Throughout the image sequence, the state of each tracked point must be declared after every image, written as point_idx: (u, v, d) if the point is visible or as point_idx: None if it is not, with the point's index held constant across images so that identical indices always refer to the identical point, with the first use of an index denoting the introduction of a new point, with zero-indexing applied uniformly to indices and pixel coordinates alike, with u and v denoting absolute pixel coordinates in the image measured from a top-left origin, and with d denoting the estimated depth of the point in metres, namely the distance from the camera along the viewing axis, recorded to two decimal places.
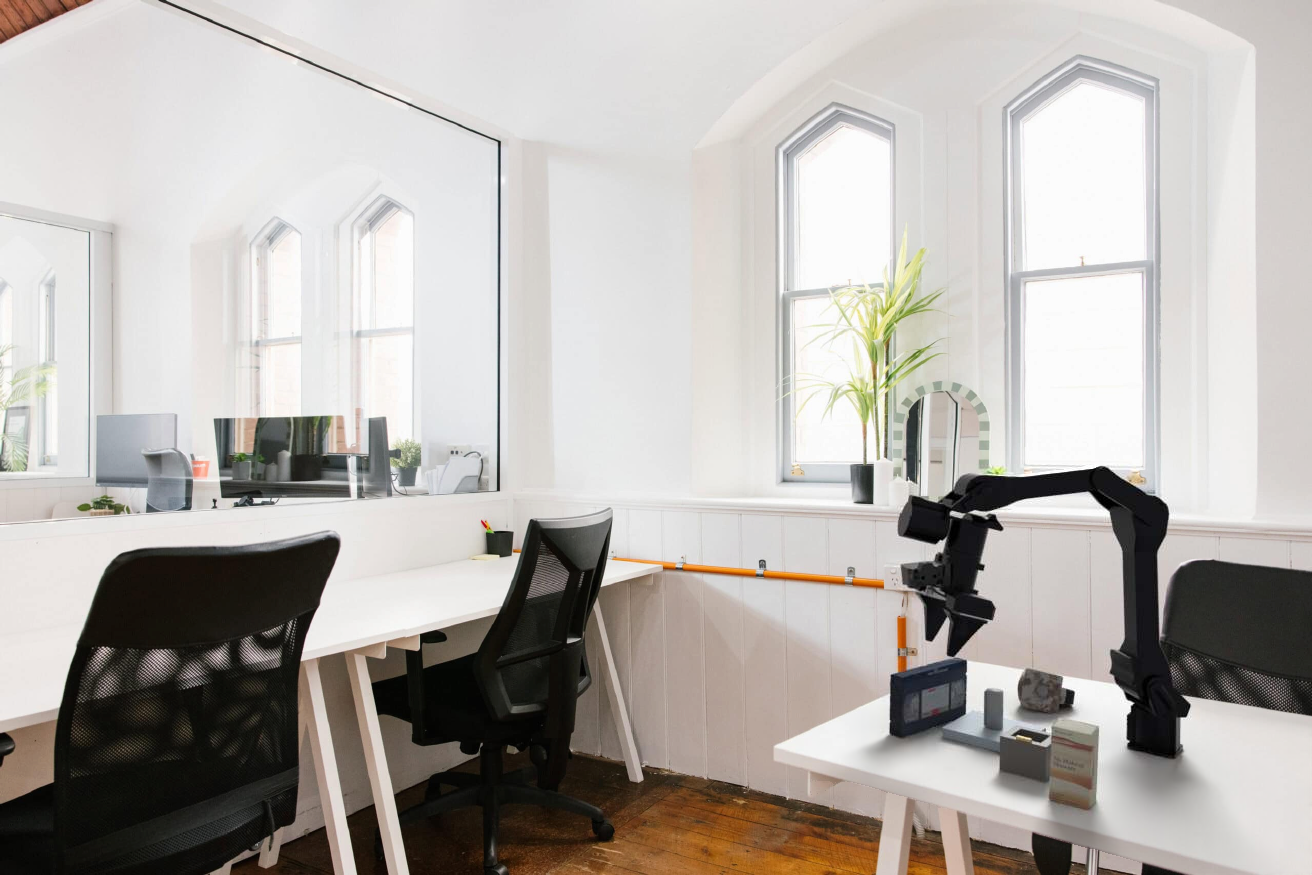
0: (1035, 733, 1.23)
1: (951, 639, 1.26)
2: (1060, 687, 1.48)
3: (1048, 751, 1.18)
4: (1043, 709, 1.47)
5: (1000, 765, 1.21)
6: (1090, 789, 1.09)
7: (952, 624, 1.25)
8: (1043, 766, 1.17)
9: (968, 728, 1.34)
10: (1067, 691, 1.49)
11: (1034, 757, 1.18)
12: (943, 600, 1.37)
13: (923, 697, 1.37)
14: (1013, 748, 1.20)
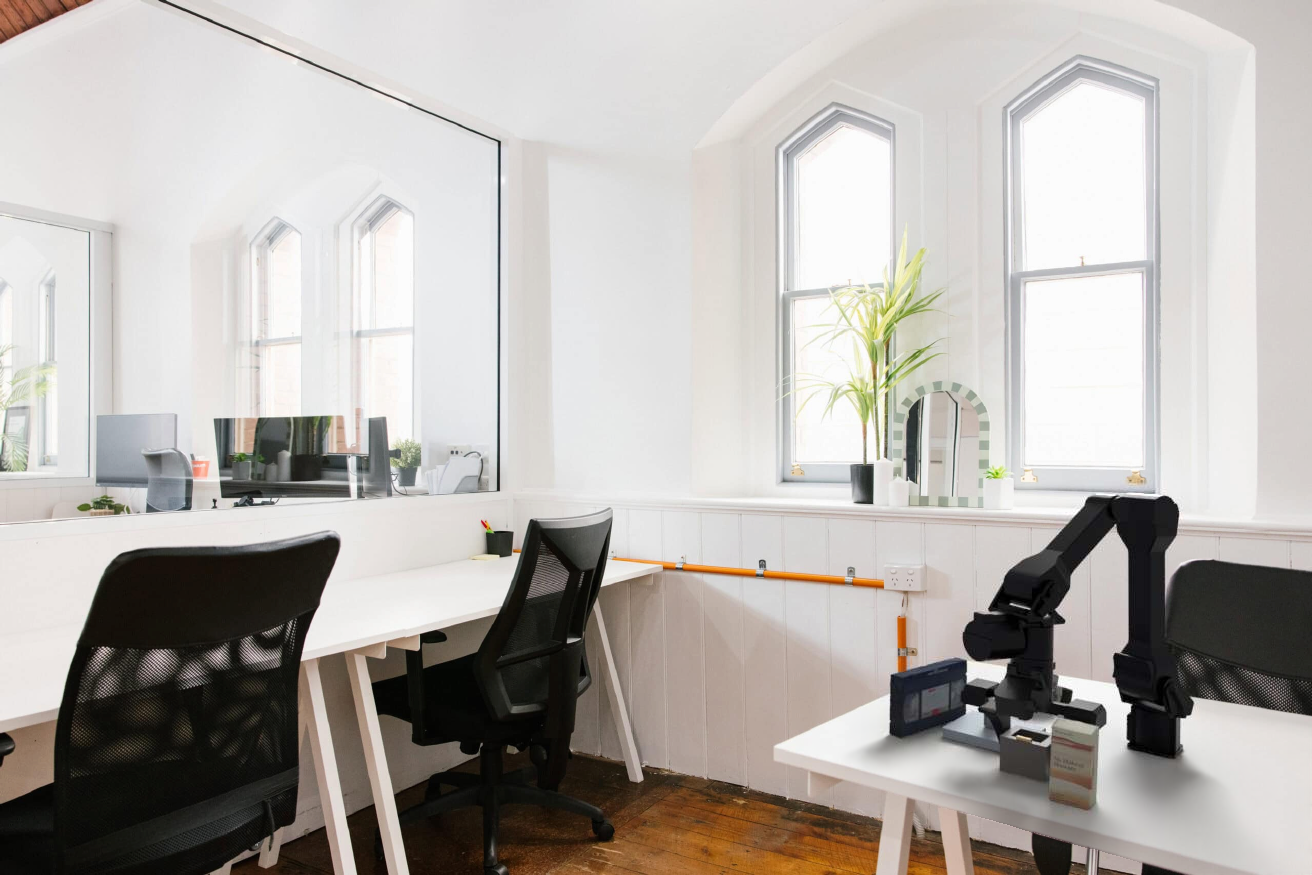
0: (1035, 733, 1.23)
1: None
2: (1055, 686, 1.49)
3: (1048, 751, 1.18)
4: None
5: (1000, 765, 1.21)
6: (1090, 789, 1.09)
7: None
8: (1043, 766, 1.17)
9: (968, 728, 1.34)
10: (1063, 690, 1.50)
11: (1034, 757, 1.18)
12: None
13: (923, 697, 1.37)
14: (1013, 748, 1.20)
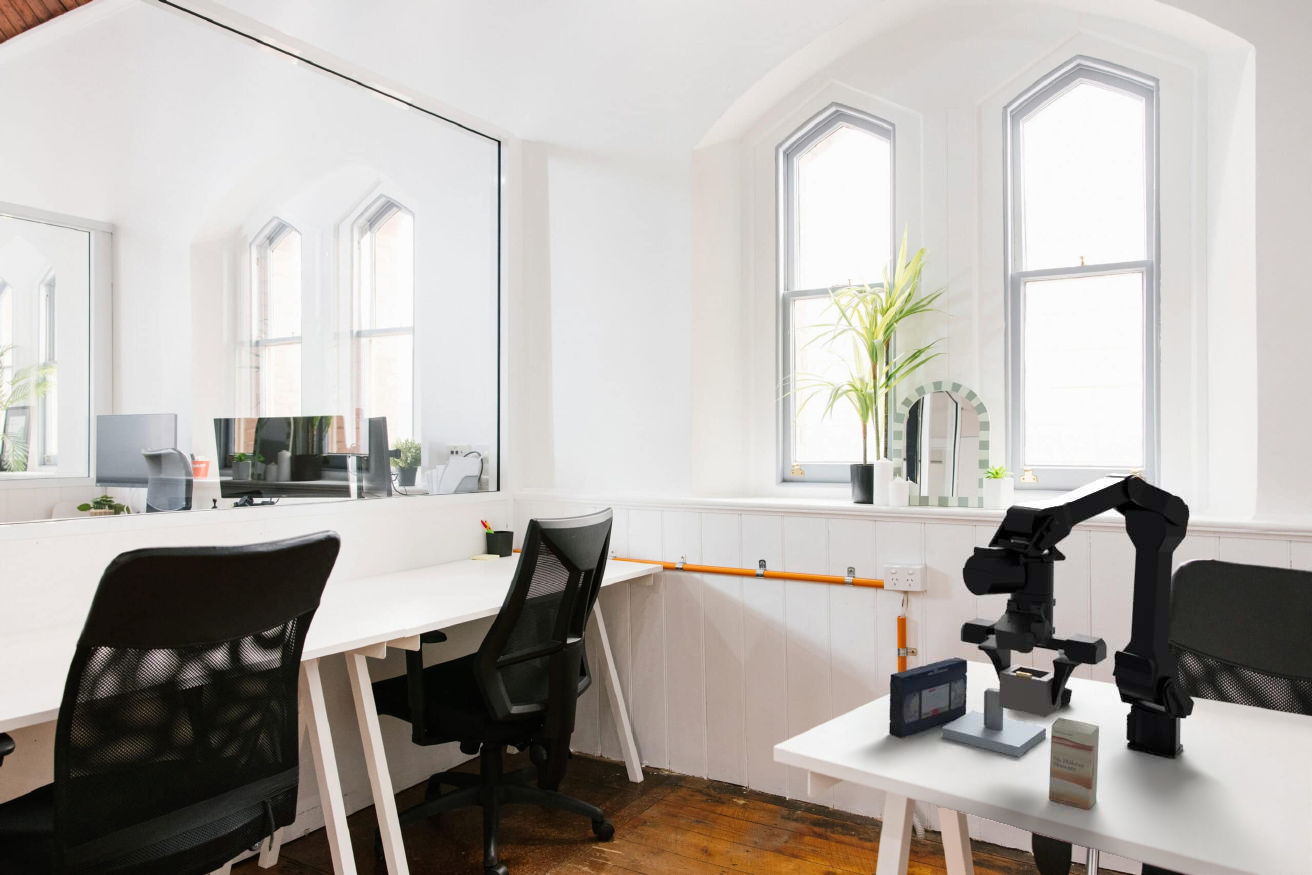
0: (1035, 671, 1.23)
1: (1060, 688, 1.18)
2: None
3: (1048, 686, 1.18)
4: None
5: (1000, 702, 1.21)
6: (1090, 789, 1.09)
7: (1063, 673, 1.17)
8: (1043, 700, 1.17)
9: (968, 728, 1.34)
10: None
11: (1034, 692, 1.18)
12: None
13: (923, 697, 1.37)
14: (1013, 684, 1.20)
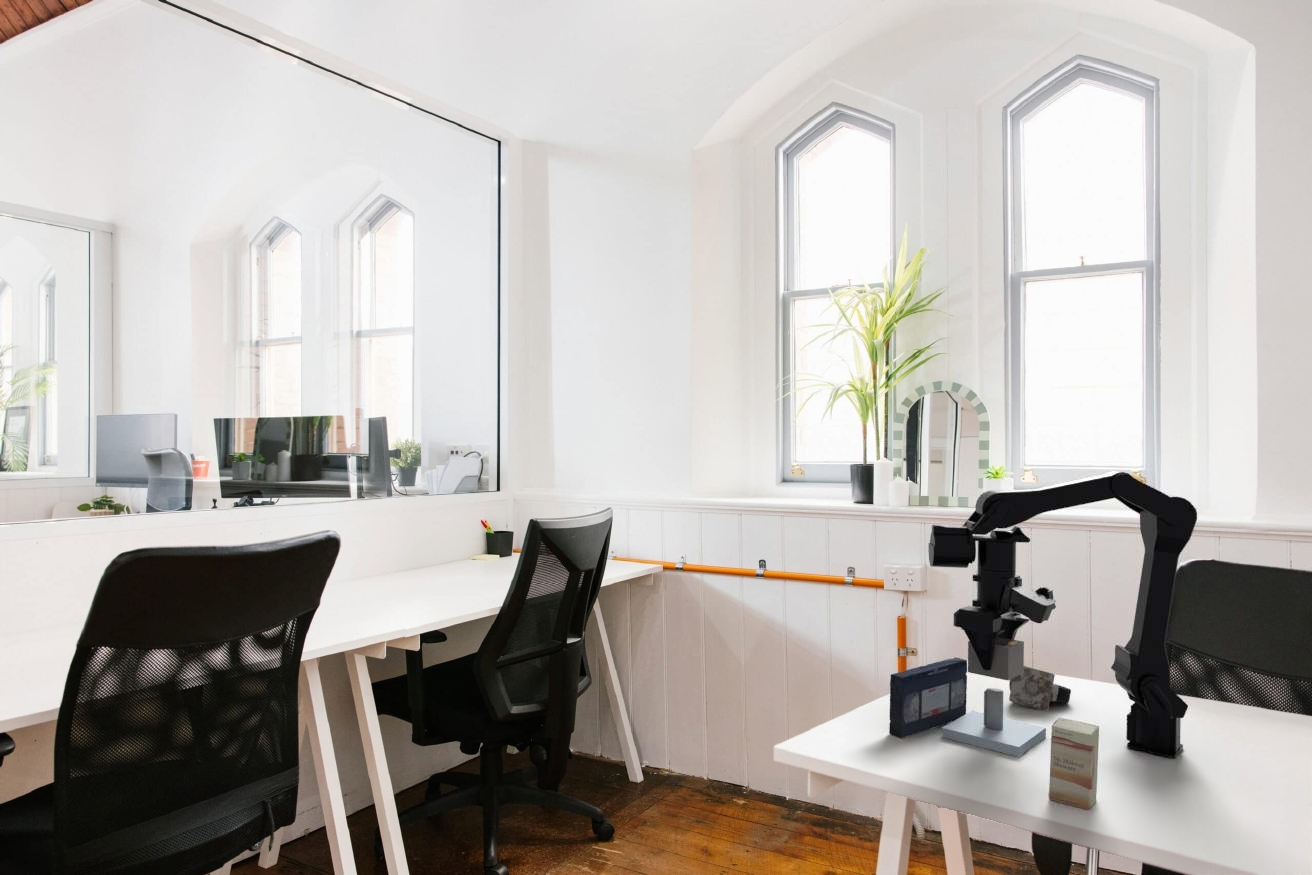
0: None
1: None
2: (1051, 684, 1.49)
3: None
4: (1033, 705, 1.49)
5: (1008, 675, 1.31)
6: (1090, 789, 1.09)
7: (1016, 631, 1.38)
8: (1023, 659, 1.35)
9: (968, 728, 1.34)
10: (1060, 689, 1.50)
11: (1019, 654, 1.34)
12: None
13: (923, 697, 1.37)
14: (1013, 654, 1.32)
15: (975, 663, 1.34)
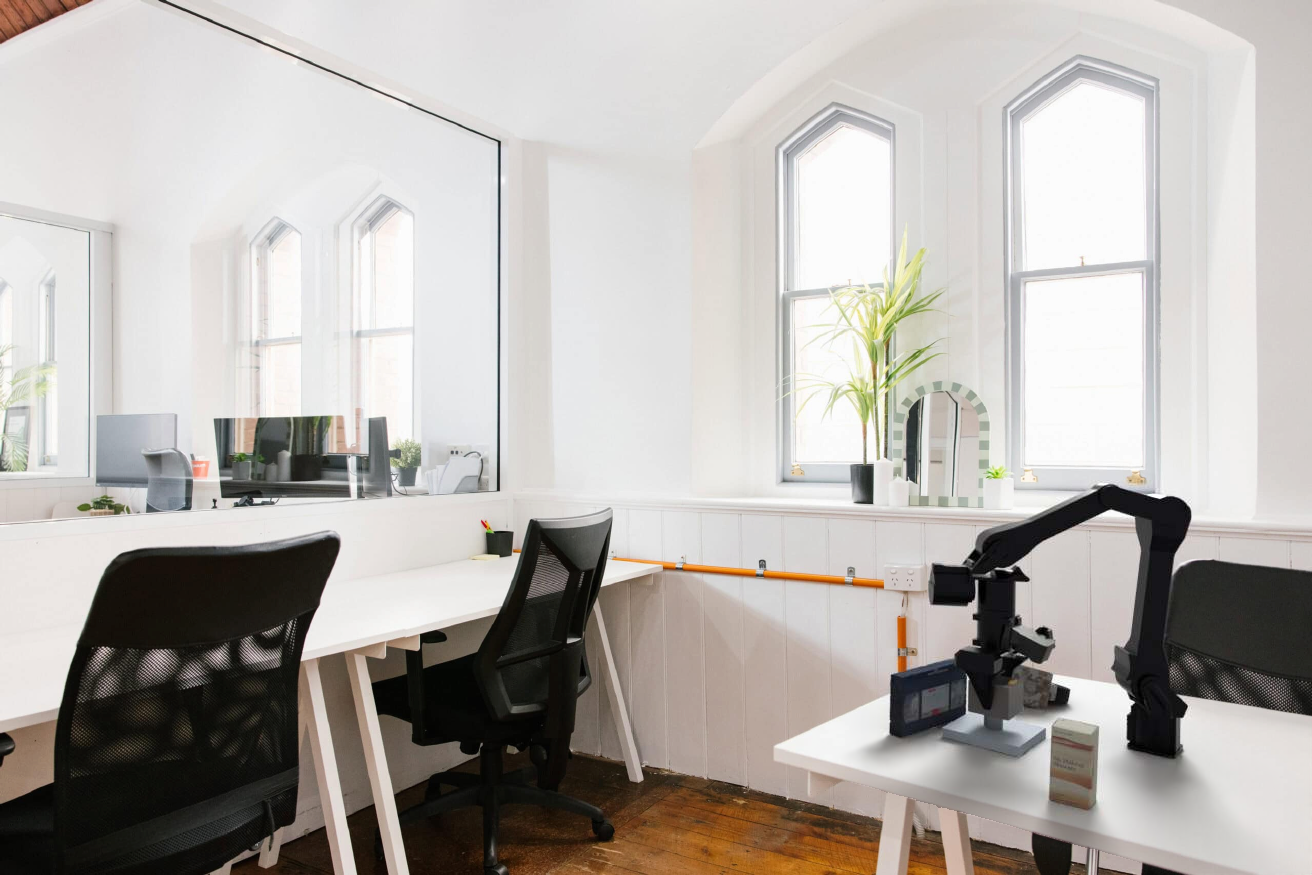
0: None
1: None
2: (1049, 684, 1.50)
3: None
4: (1031, 704, 1.50)
5: (1008, 715, 1.31)
6: (1090, 789, 1.09)
7: (1015, 669, 1.38)
8: (1022, 697, 1.35)
9: (968, 728, 1.34)
10: (1059, 688, 1.51)
11: (1019, 693, 1.34)
12: None
13: (923, 697, 1.37)
14: (1013, 694, 1.32)
15: (975, 702, 1.34)
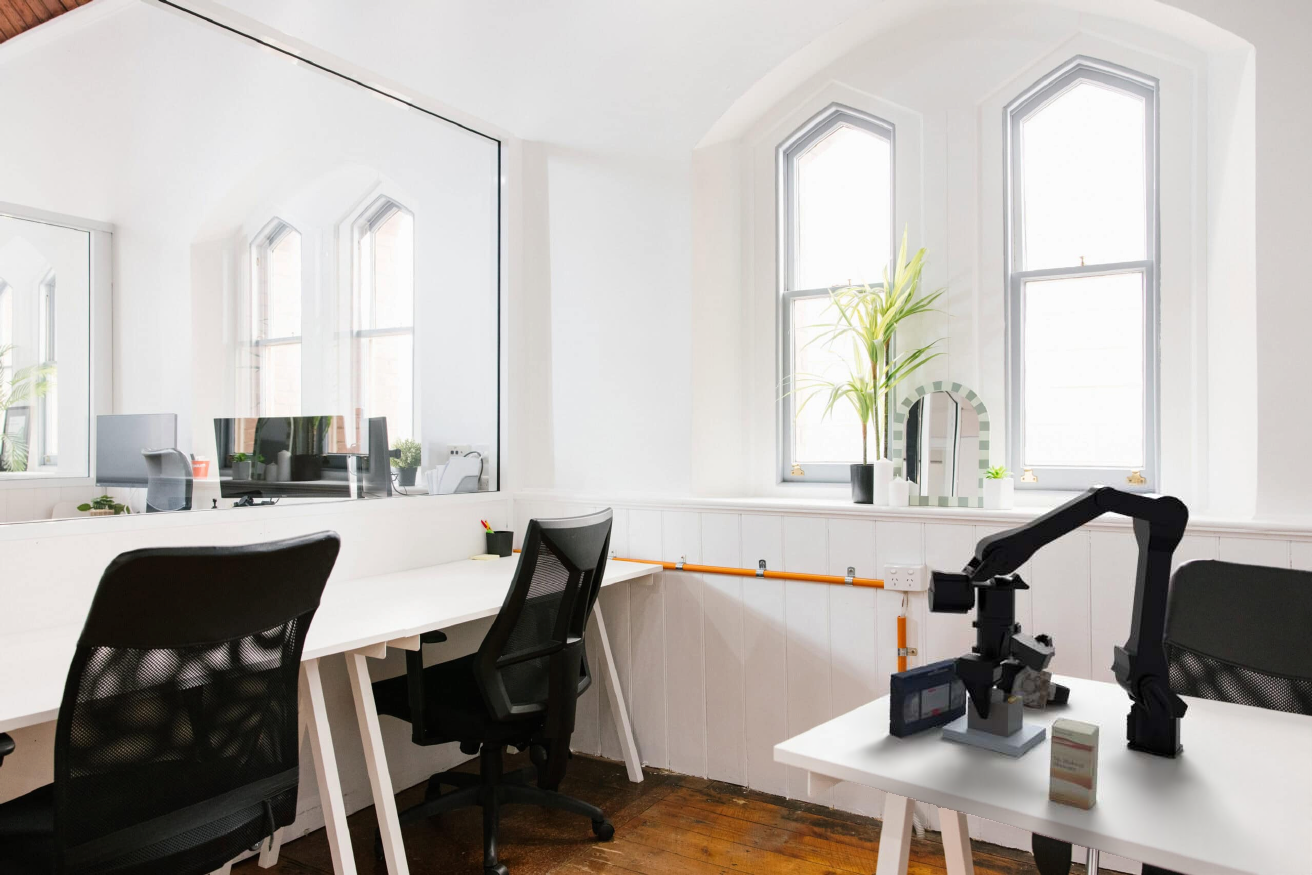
0: None
1: None
2: (1048, 683, 1.50)
3: None
4: (1029, 703, 1.50)
5: (1008, 733, 1.31)
6: (1090, 789, 1.09)
7: (1017, 675, 1.38)
8: (1022, 714, 1.35)
9: (968, 728, 1.34)
10: (1058, 688, 1.51)
11: (1019, 710, 1.34)
12: None
13: (923, 697, 1.37)
14: (1012, 711, 1.32)
15: (975, 719, 1.34)
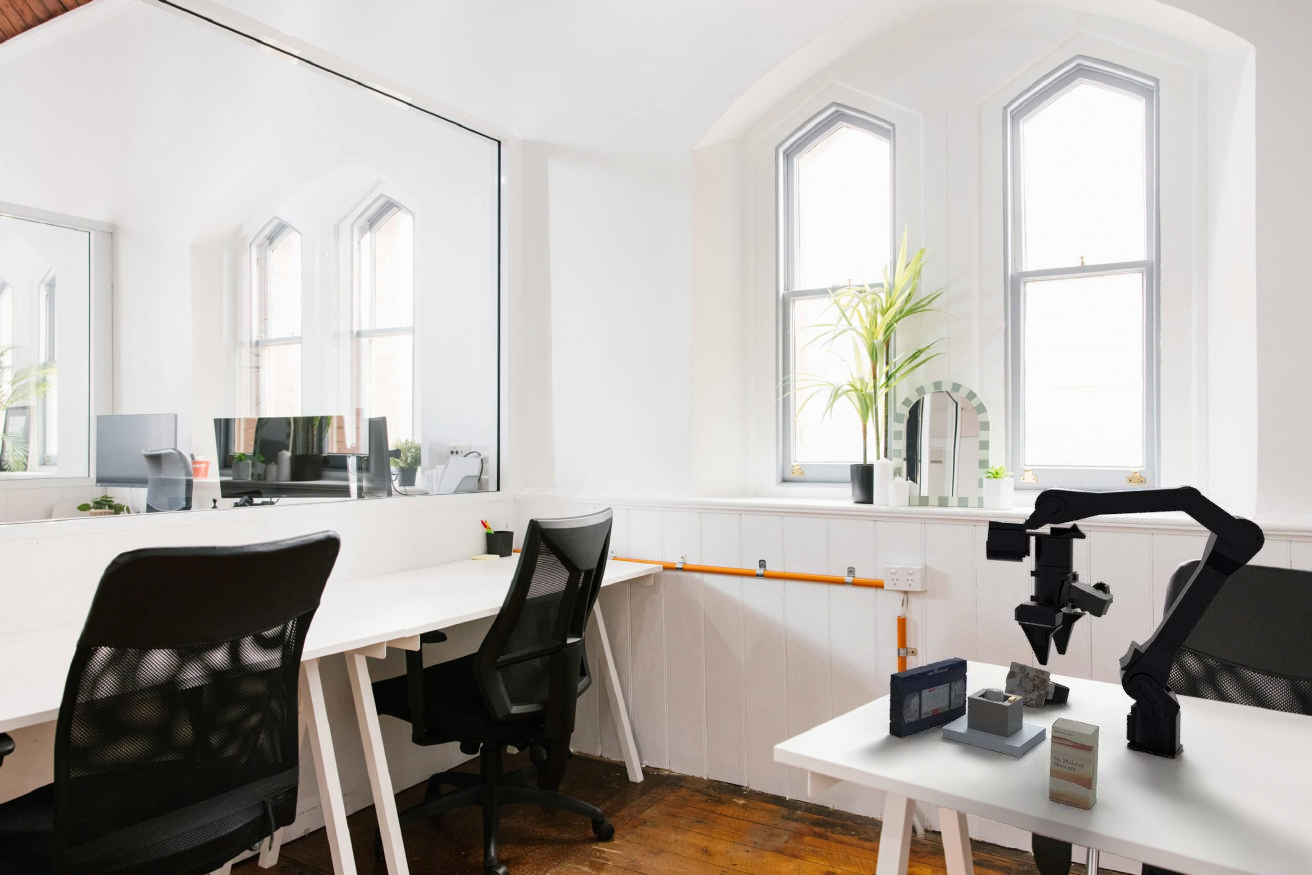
0: (982, 695, 1.36)
1: None
2: (1047, 682, 1.51)
3: None
4: (1027, 702, 1.51)
5: (1008, 733, 1.31)
6: (1090, 789, 1.09)
7: (1073, 624, 1.41)
8: (1022, 714, 1.35)
9: (968, 728, 1.34)
10: (1057, 687, 1.51)
11: (1019, 710, 1.34)
12: None
13: (923, 697, 1.37)
14: (1012, 711, 1.32)
15: (975, 719, 1.34)
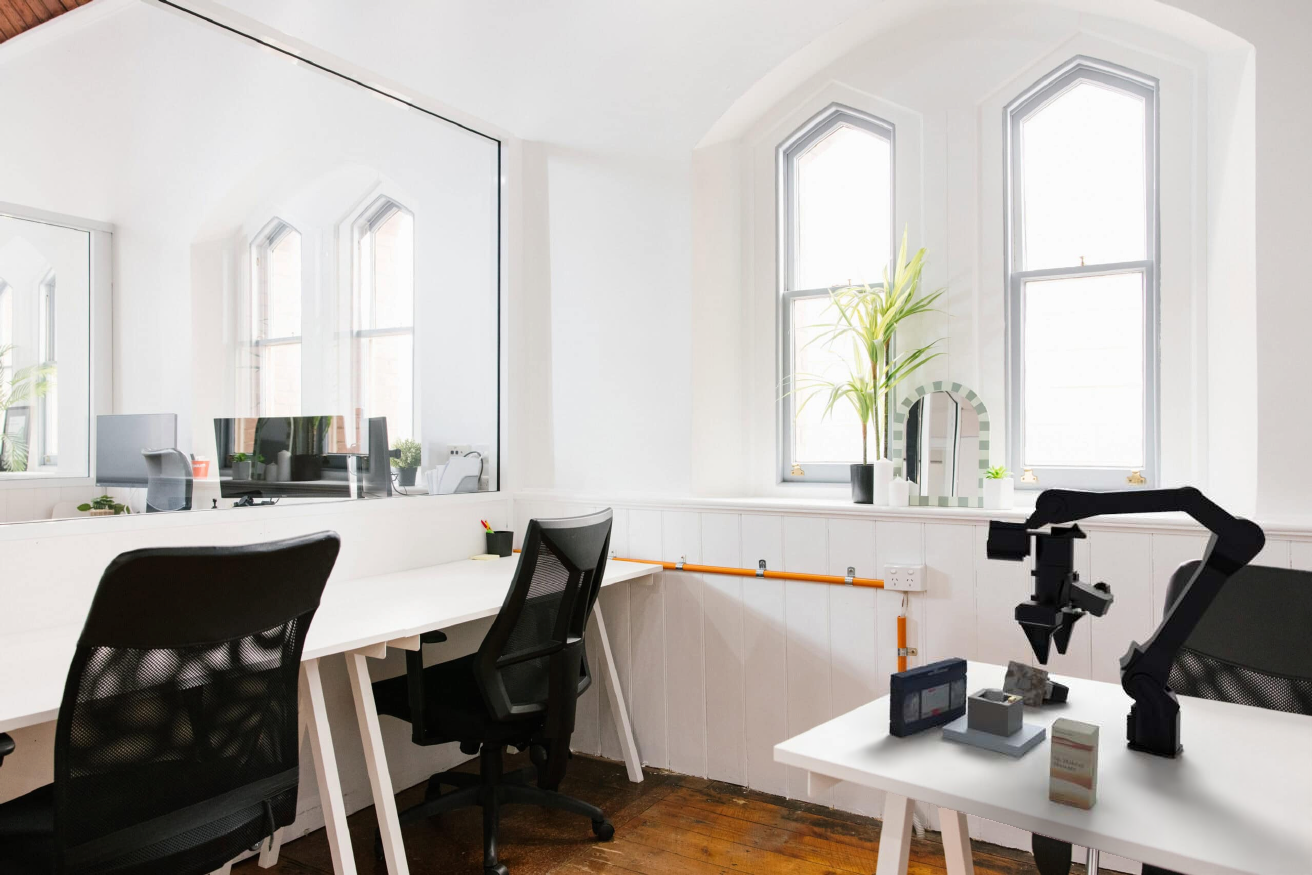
0: (982, 695, 1.36)
1: None
2: (1044, 681, 1.51)
3: None
4: (1025, 701, 1.52)
5: (1008, 733, 1.31)
6: (1090, 789, 1.09)
7: (1074, 624, 1.41)
8: (1022, 714, 1.35)
9: (968, 728, 1.34)
10: (1055, 687, 1.52)
11: (1019, 710, 1.34)
12: None
13: (923, 697, 1.37)
14: (1012, 711, 1.32)
15: (975, 719, 1.34)
